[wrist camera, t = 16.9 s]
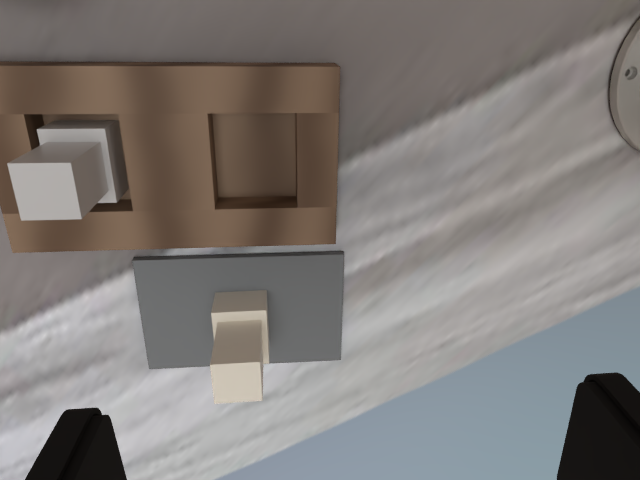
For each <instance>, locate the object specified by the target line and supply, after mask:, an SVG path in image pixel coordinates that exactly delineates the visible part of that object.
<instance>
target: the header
mask: <svg viewBox="0 0 640 480" xmlns="http://www.w3.org/2000/svg"><path fill="white" fill-rule="evenodd" d="M339 90H340V66H338V65H337V64H335V63H207V62H0V206H1V210H2V213H3V217H4V221H5V225H6V229H7V233H8V236H9V240H10V244H11V248H12V252H13V253H21V252H58V251H95V250H131V249H168V248H205V247H242V246H278V245H315V244H336V209H337V169H338V129H339ZM55 120H119V127H120V134H121V140H122V147H123V154H124V160H125V167H126V174H127V180H128V187H129V189H128V190H127V191H126V192H125V194H124V195H123V196H122V197H121V198H120V199H119V201H118V202H117V203H97V204H96V205H95V206H94V207H93V208H92V209H91V210H90V211H89V212H88V213H87V214H86V215H85V216H84V217H83V218H82V219H70V220H24V221H21V218H20V214H19V210H18V206H17V202H16V198H15V194H14V190H13V185H12V181H11V177H10V173H9V169H8V165H7V163H9V162H11V161H13V160H14V159H16V158H18V157H20V156H22V155H24V154H25V153H27V152H29V151H31V150H33V149H35V148H37V147H38V146H40V142H39V138H38V133H37V129H38V128H40V127H42V126H44V125H47V124H49V123H51V122H53V121H55Z"/></svg>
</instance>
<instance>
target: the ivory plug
mask: <svg viewBox="0 0 640 480" xmlns="http://www.w3.org/2000/svg"><path fill="white" fill-rule="evenodd" d="M211 317H212V326H213V336H214V345H213V351H212V357H211V362H210V369H211V378H212V387H213V395H214V404H218V403H233V402H249V401H262V400H263V364H269V326H268V307H267V290H258V291H237V292H216V293H215V296H214V301H213V306H212V311H211Z"/></svg>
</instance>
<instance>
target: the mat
mask: <svg viewBox="0 0 640 480" xmlns="http://www.w3.org/2000/svg"><path fill="white" fill-rule="evenodd" d="M132 262H133V269H134V275H135V282H136V288H137V294H138V301H139V307H140V314H141V320H142V326H143V333H144V339H145V346H146V352H147V359H148V365H149V369H162V368H183V367H204V366H210V362H211V357H212V351H213V345H214V336H213V326H212V317H211V311H212V306H213V301H214V296H215V293H216V292H237V291H258V290H267V307H268V326H269V363H288V362H310V361H331V360H341V335H342V305H343V275H344V252H343V251H334V252H298V253H263V254H228V255H193V256H158V257H134V258H133V260H132Z"/></svg>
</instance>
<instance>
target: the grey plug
mask: <svg viewBox="0 0 640 480" xmlns="http://www.w3.org/2000/svg"><path fill="white" fill-rule="evenodd" d="M37 133H38V138H39V142H40V146H38V147H37V148H35V149H33V150H31V151H29V152H27V153H25V154H24V155H22V156H20V157H18V158H16V159H14V160H13V161H11V162H9V163H7V165H8V169H9V173H10V177H11V181H12V185H13V190H14V194H15V198H16V202H17V206H18V210H19V214H20V218H21V221H24V220H70V219H82V218H83V217H84V216H85V215H86V214H87V213H88V212H89V211H90V210H91V209H92V208H93V207H94V206H95V205H96V204H97V203H117V202H118V201H119V199H120V198H121V197H122V196H123V195H124V194H125V192H126V191H127V190H128V189H129V187H128V180H127V174H126V167H125V160H124V154H123V147H122V140H121V134H120V127H119V120H55V121H53V122H51V123H49V124H47V125H44V126H42V127H40V128H38V129H37Z"/></svg>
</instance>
